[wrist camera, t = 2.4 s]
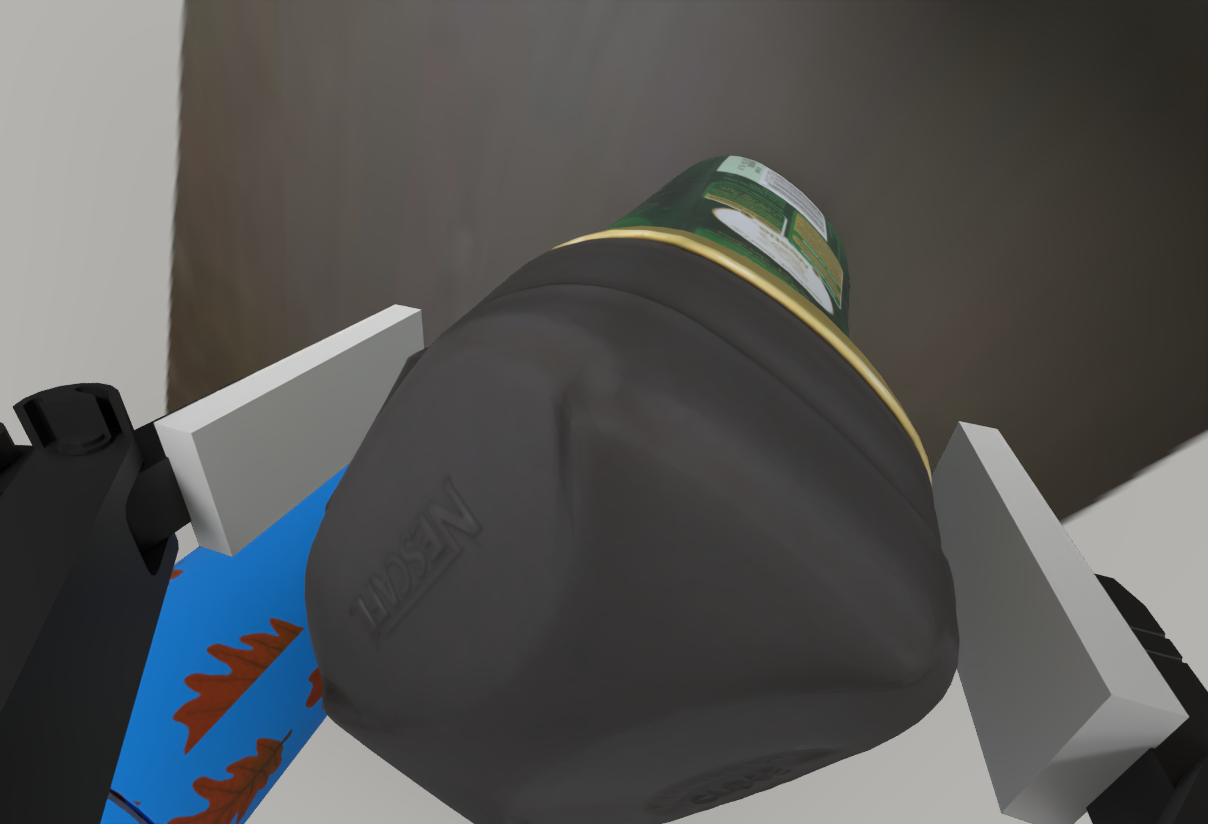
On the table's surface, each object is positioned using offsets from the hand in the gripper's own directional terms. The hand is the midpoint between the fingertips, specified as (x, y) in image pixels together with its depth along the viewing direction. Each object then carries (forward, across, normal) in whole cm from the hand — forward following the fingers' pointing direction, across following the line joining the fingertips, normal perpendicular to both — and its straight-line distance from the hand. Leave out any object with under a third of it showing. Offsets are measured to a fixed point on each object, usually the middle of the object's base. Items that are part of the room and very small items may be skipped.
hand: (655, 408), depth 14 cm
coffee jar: (+10, 0, 0) cm, 10 cm away
